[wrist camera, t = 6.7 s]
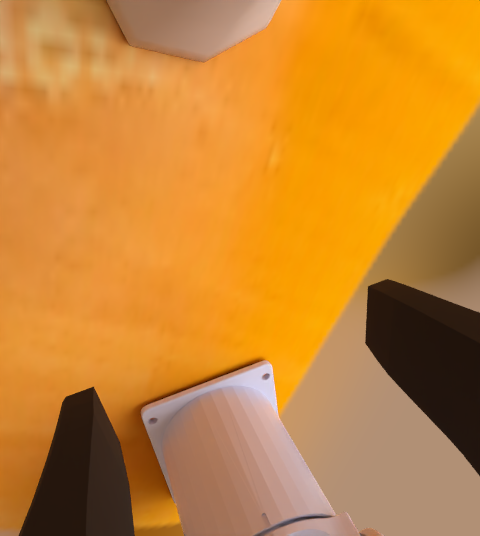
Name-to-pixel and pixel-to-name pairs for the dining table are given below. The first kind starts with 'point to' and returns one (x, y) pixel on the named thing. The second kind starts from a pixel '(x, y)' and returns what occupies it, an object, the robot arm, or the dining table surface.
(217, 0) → the flask
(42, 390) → the dining table surface
